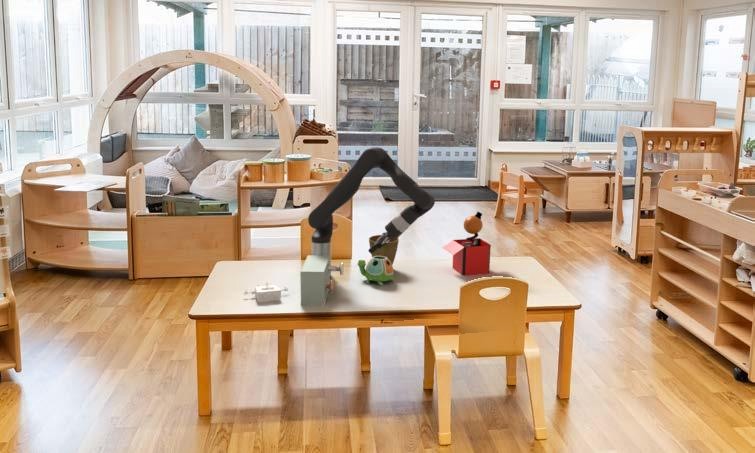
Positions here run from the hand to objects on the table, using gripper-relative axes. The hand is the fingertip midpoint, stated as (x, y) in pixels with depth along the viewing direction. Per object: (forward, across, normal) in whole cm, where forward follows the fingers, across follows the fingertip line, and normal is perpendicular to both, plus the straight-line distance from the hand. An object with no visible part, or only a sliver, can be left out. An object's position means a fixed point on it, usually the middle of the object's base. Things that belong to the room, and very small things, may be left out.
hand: (369, 252), depth 341 cm
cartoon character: (+46, +7, -18) cm, 50 cm away
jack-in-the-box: (-21, -40, +48) cm, 66 cm away
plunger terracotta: (+27, +11, -4) cm, 29 cm away
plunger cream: (+21, -1, -5) cm, 22 cm away
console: (+30, +5, -3) cm, 31 cm away
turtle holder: (+12, -19, +16) cm, 27 cm away
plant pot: (+10, -38, +17) cm, 43 cm away
